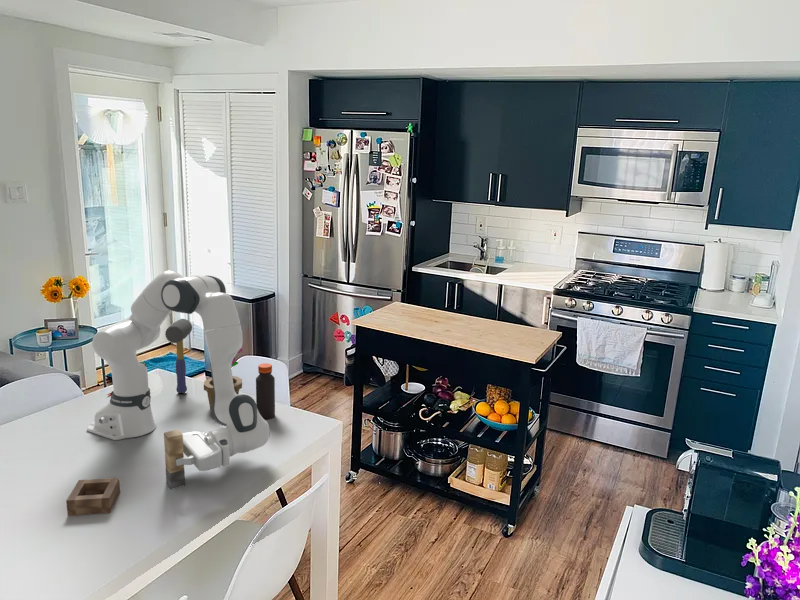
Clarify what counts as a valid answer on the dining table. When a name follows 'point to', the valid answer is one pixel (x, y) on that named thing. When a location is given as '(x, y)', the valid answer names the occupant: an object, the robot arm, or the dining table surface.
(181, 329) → the rubber mallet
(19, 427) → the dining table surface
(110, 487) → the wooden square ring
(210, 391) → the flowerpot
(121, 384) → the robot arm
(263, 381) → the bottle
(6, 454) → the dining table surface
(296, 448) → the dining table surface
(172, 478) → the light wooden block
